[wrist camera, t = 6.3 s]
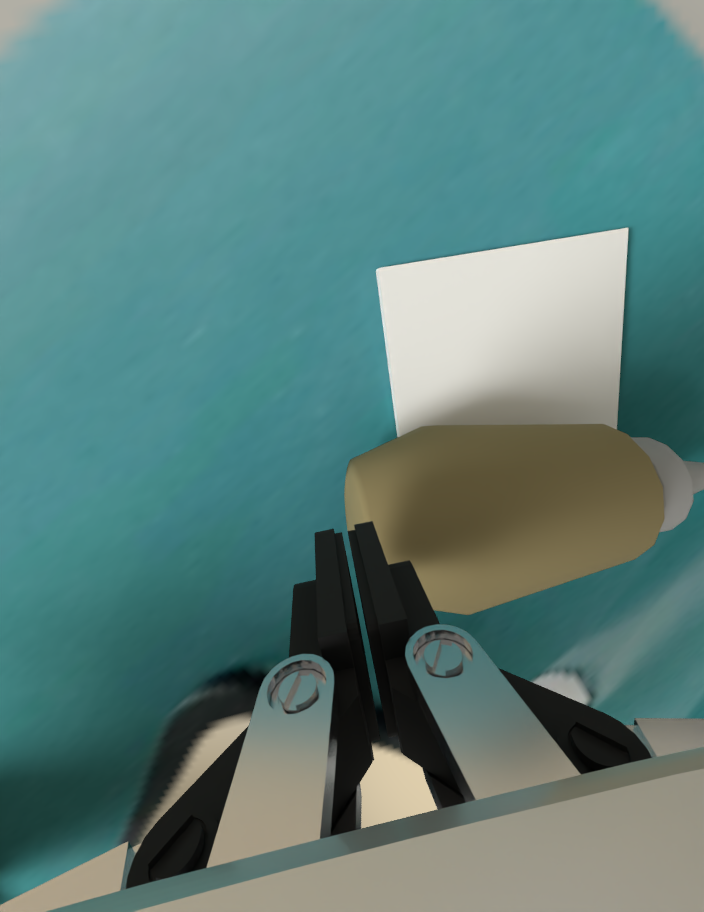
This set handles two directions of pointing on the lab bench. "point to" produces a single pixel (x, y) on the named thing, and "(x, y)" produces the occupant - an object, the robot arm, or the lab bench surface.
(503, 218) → the lab bench surface
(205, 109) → the lab bench surface
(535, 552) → the squeeze bottle
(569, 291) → the mat
